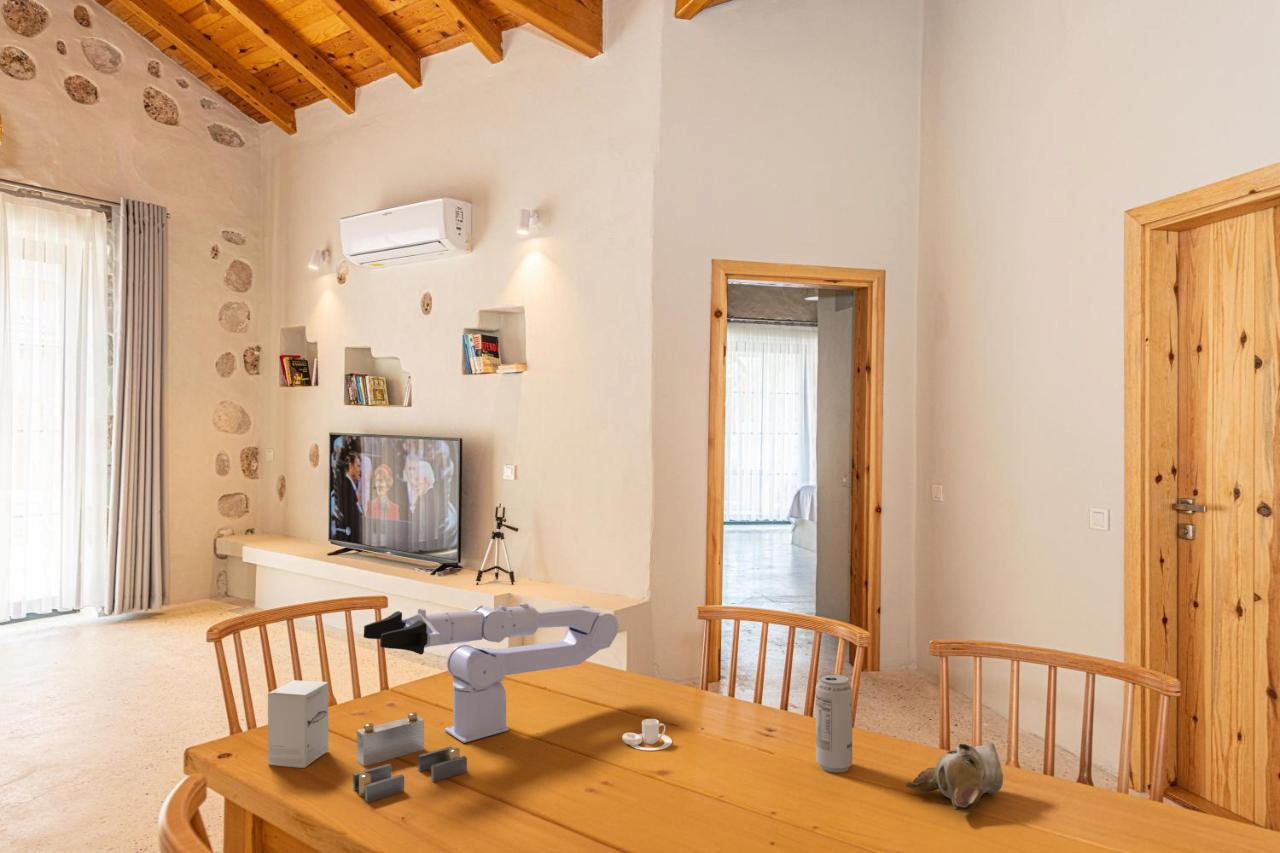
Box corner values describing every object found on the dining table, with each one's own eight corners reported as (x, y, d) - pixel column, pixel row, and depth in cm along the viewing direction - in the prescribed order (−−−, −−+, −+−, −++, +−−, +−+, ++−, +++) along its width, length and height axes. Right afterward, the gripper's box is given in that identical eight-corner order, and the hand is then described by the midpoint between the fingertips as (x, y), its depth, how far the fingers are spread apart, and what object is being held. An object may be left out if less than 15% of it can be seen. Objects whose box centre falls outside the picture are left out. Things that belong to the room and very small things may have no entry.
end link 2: (451, 760, 143) (451, 743, 142) (467, 772, 138) (467, 754, 138) (418, 770, 139) (417, 752, 139) (433, 782, 134) (433, 764, 134)
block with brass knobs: (417, 745, 150) (416, 709, 150) (424, 750, 147) (423, 714, 147) (357, 761, 143) (356, 724, 143) (363, 767, 140) (363, 729, 140)
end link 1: (389, 778, 136) (389, 760, 135) (404, 791, 131) (404, 772, 131) (352, 789, 132) (352, 770, 132) (366, 803, 127) (366, 783, 127)
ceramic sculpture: (1022, 744, 126) (957, 771, 119) (1025, 799, 127) (960, 830, 119) (964, 722, 136) (900, 746, 128) (966, 773, 136) (903, 801, 129)
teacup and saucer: (617, 748, 148) (617, 726, 148) (634, 732, 156) (634, 711, 155) (663, 755, 145) (663, 732, 145) (678, 739, 152) (678, 717, 152)
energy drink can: (857, 773, 136) (857, 683, 136) (821, 774, 136) (821, 684, 136) (845, 758, 142) (845, 672, 142) (811, 759, 142) (811, 673, 142)
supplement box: (305, 769, 139) (304, 695, 139) (266, 765, 141) (265, 692, 141) (330, 751, 147) (329, 681, 146) (293, 748, 148) (292, 678, 148)
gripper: (429, 600, 157) (358, 605, 148) (464, 614, 146) (390, 621, 137) (427, 637, 157) (356, 644, 148) (462, 654, 146) (388, 663, 137)
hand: (372, 636), depth 143 cm, fingers open, 7 cm apart
